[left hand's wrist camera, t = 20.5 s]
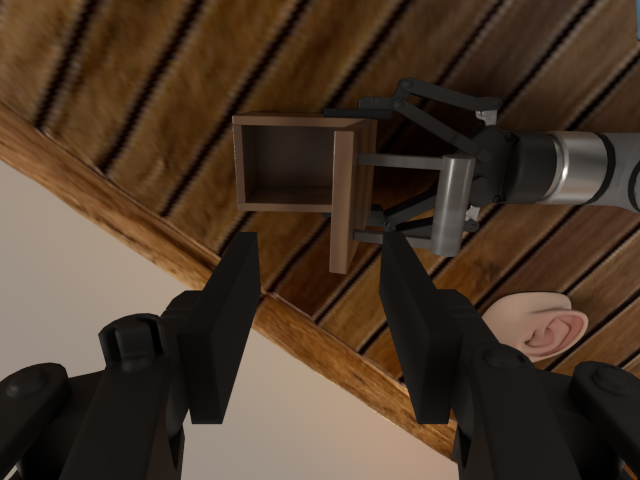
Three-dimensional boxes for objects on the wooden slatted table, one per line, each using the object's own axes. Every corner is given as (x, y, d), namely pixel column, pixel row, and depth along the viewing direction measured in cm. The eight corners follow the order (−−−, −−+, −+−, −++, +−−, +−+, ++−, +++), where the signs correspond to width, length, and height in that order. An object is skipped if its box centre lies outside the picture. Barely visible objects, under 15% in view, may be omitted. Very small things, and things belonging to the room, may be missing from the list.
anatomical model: (476, 369, 51) (502, 299, 47) (466, 351, 55) (489, 284, 51) (567, 379, 52) (600, 311, 48) (550, 361, 55) (580, 295, 51)
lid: (329, 272, 25) (459, 289, 23) (334, 130, 21) (487, 137, 19) (358, 214, 37) (445, 222, 35) (365, 118, 34) (460, 122, 32)
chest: (252, 189, 46) (237, 210, 37) (249, 111, 42) (231, 115, 34) (355, 192, 46) (363, 213, 38) (360, 114, 43) (370, 118, 34)
